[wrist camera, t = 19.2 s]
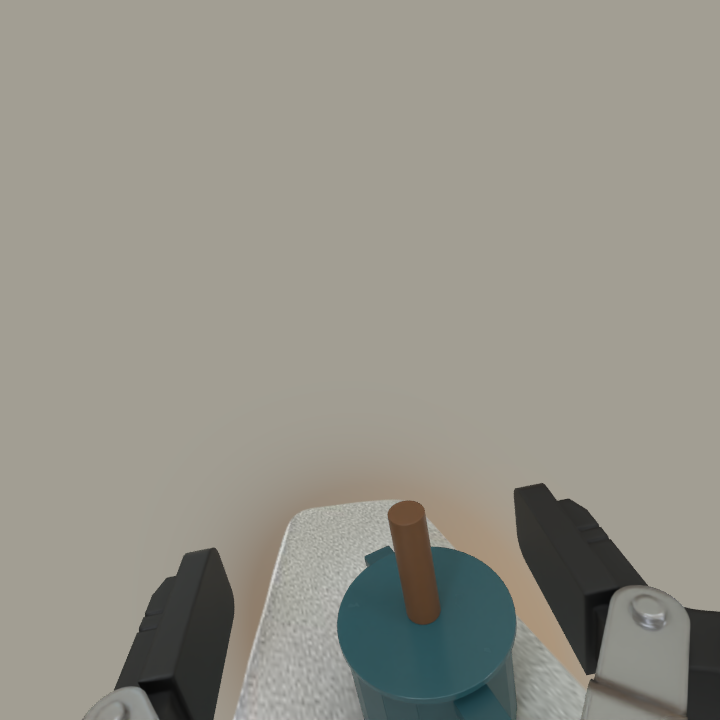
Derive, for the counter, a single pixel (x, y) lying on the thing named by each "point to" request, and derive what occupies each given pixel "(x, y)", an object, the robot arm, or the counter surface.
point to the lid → (425, 618)
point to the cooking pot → (461, 716)
